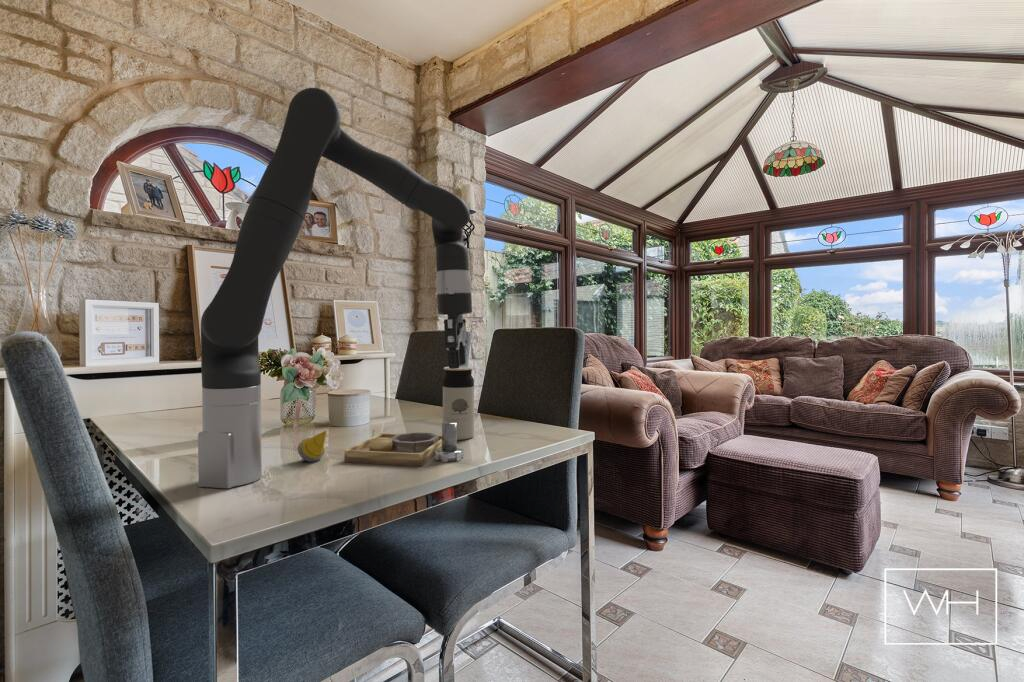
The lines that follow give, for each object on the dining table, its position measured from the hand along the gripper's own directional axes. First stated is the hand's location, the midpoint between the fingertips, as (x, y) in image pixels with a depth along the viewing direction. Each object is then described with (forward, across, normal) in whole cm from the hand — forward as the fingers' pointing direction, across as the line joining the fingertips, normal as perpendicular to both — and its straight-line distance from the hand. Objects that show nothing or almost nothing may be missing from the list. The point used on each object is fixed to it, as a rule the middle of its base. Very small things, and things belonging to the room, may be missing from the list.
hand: (457, 366), depth 105 cm
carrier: (+19, 0, -14) cm, 23 cm away
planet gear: (+19, +3, -2) cm, 20 cm away
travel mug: (+20, -17, -4) cm, 27 cm away
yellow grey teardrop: (+18, +7, -30) cm, 36 cm away
